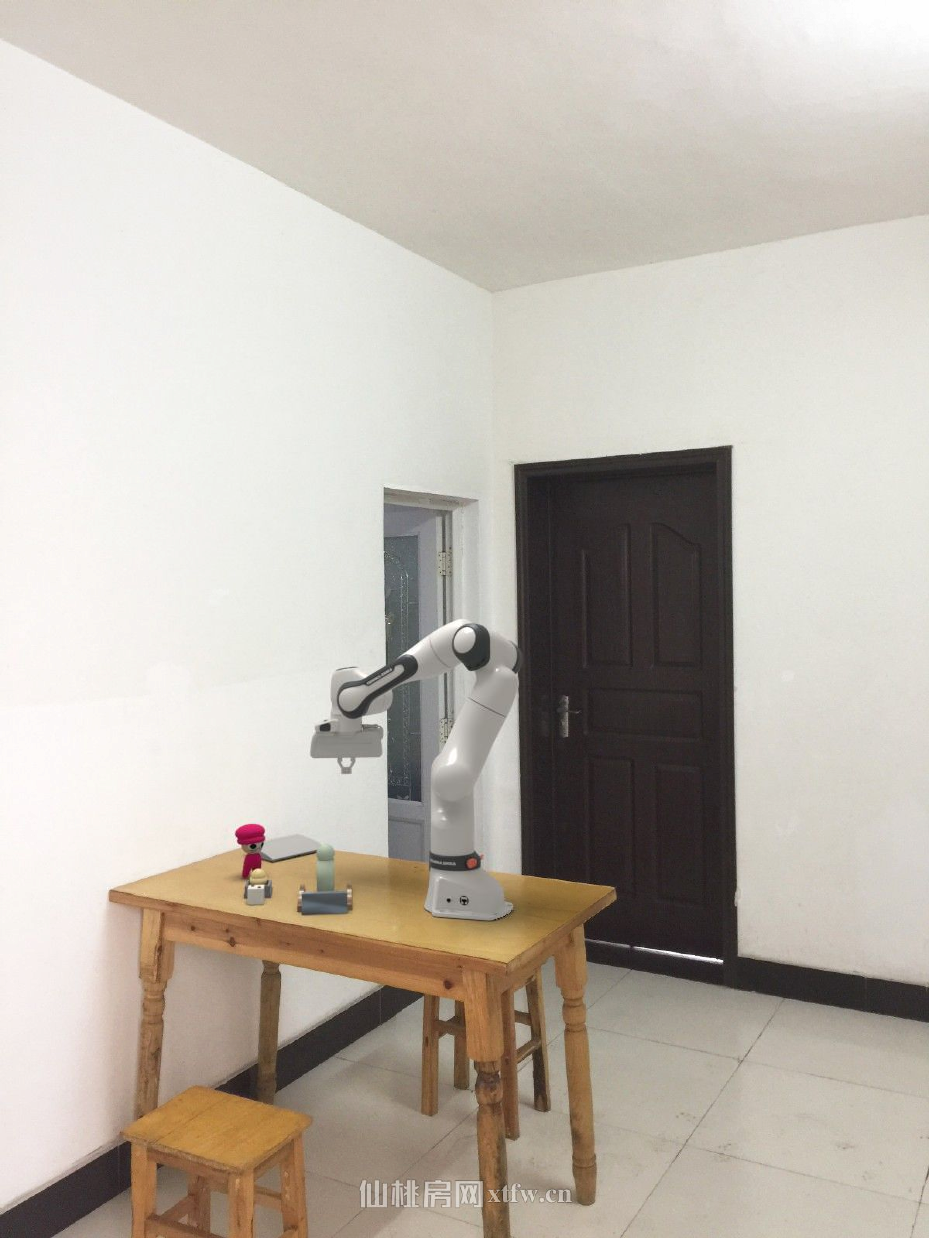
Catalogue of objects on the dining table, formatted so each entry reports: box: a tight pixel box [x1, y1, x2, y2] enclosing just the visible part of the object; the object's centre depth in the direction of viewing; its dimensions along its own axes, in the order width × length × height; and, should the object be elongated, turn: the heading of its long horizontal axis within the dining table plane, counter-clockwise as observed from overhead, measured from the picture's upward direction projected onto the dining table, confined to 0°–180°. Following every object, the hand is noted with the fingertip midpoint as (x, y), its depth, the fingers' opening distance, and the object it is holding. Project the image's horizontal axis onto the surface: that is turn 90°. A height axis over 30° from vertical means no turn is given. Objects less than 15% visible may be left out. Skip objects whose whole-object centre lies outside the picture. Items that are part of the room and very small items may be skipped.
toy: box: [234, 823, 266, 879], centre depth 295 cm, size 8×8×15 cm
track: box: [296, 882, 353, 915], centre depth 272 cm, size 24×14×5 cm, turn 7°
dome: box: [249, 868, 268, 885], centre depth 278 cm, size 4×4×4 cm
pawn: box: [315, 843, 336, 892], centre depth 279 cm, size 5×5×13 cm
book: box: [258, 833, 322, 863], centre depth 324 cm, size 15×23×4 cm, turn 139°
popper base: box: [243, 879, 274, 900], centre depth 278 cm, size 7×7×3 cm
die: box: [247, 884, 266, 906], centre depth 270 cm, size 4×4×4 cm
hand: (346, 773), depth 295 cm, fingers closed
